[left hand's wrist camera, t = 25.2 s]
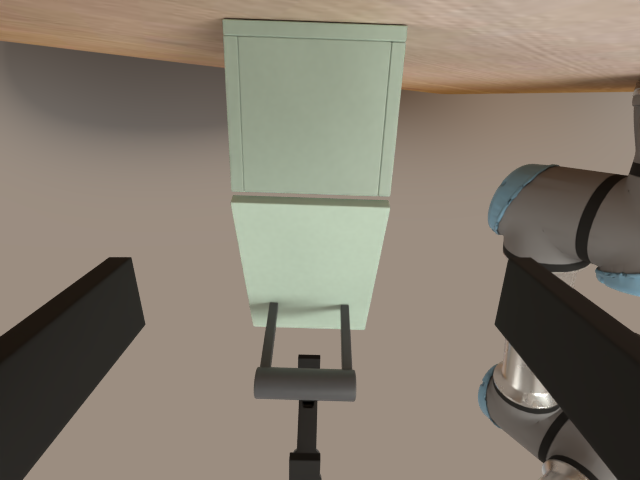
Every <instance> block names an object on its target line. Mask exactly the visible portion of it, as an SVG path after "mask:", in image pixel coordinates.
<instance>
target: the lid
mask: <svg viewBox="0 0 640 480" xmlns="http://www.w3.org/2000/svg"><path fill="white" fill-rule="evenodd" d="M231 208H232V213H233V218H234V224H235V229H236V235H237V240H238V245H239V251H240V256H241V262H242V267H243V273H244V278H245V283H246V289H247V294H248V300H249V305H250V310H251V316H252V321H253V326H260V327H266V331H265V338H264V345H263V351H262V358H261V364H260V367H258V368H257V370H256V374H255V380H254V396H255V398H256V399H286V400H321V401H355V398H356V374H355V371H354V370H352V356H351V336H350V329H357V330H364V329H365V326H366V321H367V316H368V312H369V307H370V302H371V297H372V293H373V288H374V283H375V278H376V274H377V269H378V264H379V259H380V255H381V250H382V245H383V240H384V235H385V231H386V226H387V221H388V216H389V212H390V205H389V201H388V200H359V199H330V198H300V197H269V196H239V195H233V197H232V200H231ZM276 327H293V328H325V329H341V356H342V369H311V368H278V367H271V363H272V355H273V347H274V339H275V331H276Z"/></svg>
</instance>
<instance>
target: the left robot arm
mask: <svg viewBox="0 0 640 480" xmlns="http://www.w3.org/2000/svg"><path fill="white" fill-rule="evenodd" d="M144 326H145V321H144V316H143V311H142V306H141V301H140V297H139V292H138V287H137V282H136V278H135V273H134V268H133V263H132V259H131V257H109V258H108V259H106V260H105V261H104V262H102V263H101V264H100V265H98V266H97V267H95V268H94V269H93V270H91V271H90V272H88V273H87V274H86V275H84V276H83V277H82V278H80V279H79V280H77V281H76V282H75V283H73V284H72V285H71V286H69V287H68V288H67V289H65V290H64V291H62V292H61V293H60V294H58V295H57V296H56V297H54V298H53V299H51V300H50V301H49V302H47V303H46V304H45V305H43V306H42V307H40V308H39V309H38V310H36V311H35V312H34V313H32V314H31V315H29V316H28V317H27V318H25V319H24V320H23V321H21V322H20V323H19V324H17V325H16V326H14V327H13V328H12V329H10V330H9V331H7V332H6V333H5V334H3V335H2V336H0V480H23V479H24V477H25V476H26V475H27V473H28V472H29V471H30V470H31V468H32V467H33V466H34V465H35V463H36V462H37V461H38V460H39V458H40V457H41V456H42V455H43V453H44V452H45V451H46V449H47V448H48V447H49V446H50V444H51V443H52V442H53V441H54V439H55V438H56V437H57V435H58V434H59V433H60V432H61V431H62V429H63V428H64V427H65V425H66V424H67V423H68V422H69V420H70V419H71V418H72V417H73V415H74V414H75V413H76V412H77V410H78V409H79V408H80V406H81V405H82V404H83V403H84V401H85V400H86V399H87V398H88V396H89V395H90V394H91V393H92V391H93V390H94V389H95V387H96V386H97V385H98V384H99V382H100V381H101V380H102V379H103V377H104V376H105V375H106V374H107V372H108V371H109V370H110V369H111V367H112V366H113V365H114V364H115V362H116V361H117V360H118V358H119V357H120V356H121V355H122V353H123V352H124V351H125V350H126V348H127V347H128V346H129V345H130V343H131V342H132V341H133V340H134V338H135V337H136V336H137V334H138V333H139V332H140V331H141V329H142V328H143V327H144ZM495 326H496V327H497V328H498V329H499V331H500V332H501V333H502V334H503V336H504V337H505V338H506V340H507V341H508V342H509V343H510V345H511V346H512V347H513V348H514V350H515V351H516V352H517V353H518V355H519V356H520V357H521V358H522V360H523V361H524V362H525V364H526V365H527V366H528V367H529V369H530V370H531V371H532V372H533V374H534V375H535V376H536V377H537V379H538V380H539V381H540V382H541V384H542V385H543V386H544V388H545V389H546V390H547V391H548V393H549V394H550V395H551V396H552V398H553V399H554V400H555V401H556V403H557V404H558V405H559V407H560V408H561V409H562V410H563V412H564V413H565V414H566V415H567V417H568V418H569V419H570V420H571V422H572V423H573V424H574V425H575V427H576V428H577V429H578V431H579V432H580V433H581V434H582V436H583V437H584V438H585V439H586V441H587V442H588V443H589V444H590V446H591V447H592V448H593V449H594V451H595V452H596V453H597V455H598V456H599V457H600V458H601V460H602V461H603V462H604V463H605V465H606V466H607V467H608V468H609V470H610V471H611V472H612V473H613V475H614V476H615V477H616V479H617V480H640V335H639V334H637V333H634V332H633V331H631V330H630V329H628V328H627V327H626V326H624V325H623V324H622V323H620V322H619V321H617V320H616V319H615V318H613V317H612V316H611V315H609V314H608V313H606V312H605V311H604V310H602V309H601V308H600V307H598V306H597V305H595V304H594V303H593V302H591V301H590V300H588V299H587V298H586V297H584V296H583V295H582V294H580V293H579V292H578V291H576V290H575V289H574V288H572V287H571V286H569V285H568V284H567V283H565V282H564V281H563V280H561V279H560V278H558V277H557V276H556V275H554V274H553V273H552V272H550V271H549V270H547V269H546V268H545V267H543V266H542V265H541V264H539V263H538V262H536V261H535V260H534V259H532V258H531V257H509V258H508V263H507V268H506V273H505V278H504V282H503V287H502V292H501V297H500V301H499V306H498V311H497V316H496V320H495Z"/></svg>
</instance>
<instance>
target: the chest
mask: <svg viewBox="0 0 640 480" xmlns="http://www.w3.org/2000/svg"><path fill="white" fill-rule="evenodd" d="M222 22H223V35H224V36H223V43H224V62H225V80H226V99H227V118H228V137H229V156H230V175H231V191H236V192H244V191H245V192H268V193H298V194H328V195H359V196H390V194H391V184H392V174H393V164H394V154H395V144H396V135H397V125H398V115H399V105H400V95H401V85H402V76H403V66H404V56H405V46H406V43H405V42H406V37H407V26H406V25H378V24H350V23H323V22H295V21H267V20H240V19H223V20H222Z"/></svg>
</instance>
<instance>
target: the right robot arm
mask: <svg viewBox="0 0 640 480" xmlns="http://www.w3.org/2000/svg"><path fill="white" fill-rule="evenodd" d="M632 105H633V106H634V133H635V146H636V152H635V157H634V160H633V164H632V167H631V170H630V173H629V175H628V176H626V175H619V174H612V173H604V172H597V171H590V170H582V169H575V168H568V167H560V166H559V165H554V164H552V165H539V164H528V165H524V166H521V167H519V168H517V169H516V170H514V171H513V172H512V173H510V174H509V175H508V176H507V177H506V178H505V179H504V180H503V182H502V184H501V185H500V186H499V187H498V189H497V190H496V192H495V194H494V196H493V198H492V201H491V204H490V207H489V212H488V223H489V226H490V228H492V230H493V231H494V232H495V233H496V234H498V235H503V236H504V242H503V254H504V256H505V258H506V259H507V260H508V258H509V257H531V258H532V259H534V260H535V261H536V262H538V263H539V264H541V265H542V266H543V267H545V268H546V269H547V270H549V271H550V272H552V273H553V274H554V275H556V276H557V277H558V278H560V279H561V280H563V281H564V282H565V283H567V284H568V285H569V286H571V287H572V288H574V285H575V279H576V274H577V272H579V271H582V270H584V269H586V268H587V267H589V265H590V264H591V263H592V264H595V265H597V266H598V267H597V268H596V270H595V272H596V276H597V279H598V280H599V281H600V282H601V283H604V284H605V285H606V286H608V287H610V288H612V289H615V290H618V291H621V292H624V293H627V294H631V295H635V296H639V297H640V80H639V81H637V83H636V87H635V90H634V93H633V100H632ZM298 368H311V369H320V355H299V356H298ZM317 401H319V400H299V415H298V439H297V449H296V450H294V452H293V453H290V459H289V480H321V475H320V453H319V451H318V450H317V449H316V433H317ZM478 402H479V406H480V408H481V410H482V412H483V413H484V414H485V415H486V416H487V417H488V418H489V419H490V420H491V421H492V422H493V423H494V425H496V426H497V427H499V428H501V429H503V430H504V431H505V432H506V433H507V434H509V435H510V436H511V437H512V438H514V439H515V440H516V441H517V442H518V443H520V444H521V445H522V446H523V447H524V448H526V449H527V450H528V451H529V452H531V453H532V454H533V455H534V456H535V457H537V458H538V459H539V460H540V461H542V462H543V463H544V464H543V466H542V475H543V476H542V477H541V478H540V479H538V480H617V479H616V477H615V476H614V475H613V473H612V472H611V471H610V470H609V468H608V467H607V466H606V465H605V463H604V462H603V461H602V460H601V458H600V457H599V456H598V455H597V453H596V452H595V451H594V449H593V448H592V447H591V446H590V444H589V443H588V442H587V441H586V439H585V438H584V437H583V436H582V434H581V433H580V432H579V431H578V429H577V428H576V427H575V425H574V424H573V423H572V422H571V420H570V419H569V418H568V417H567V415H566V414H565V413H564V412H563V410H562V409H561V408H560V407H559V405H558V404H557V403H556V401H555V400H554V399H553V398H552V396H551V395H550V394H549V393H548V391H547V390H546V389H545V388H544V386H543V385H542V384H541V382H540V381H539V380H538V379H537V377H536V376H535V375H534V374H533V372H532V371H531V370H530V369H529V367H528V366H527V365H526V364H525V362H524V361H523V360H522V358H521V357H520V356H519V355H518V353H517V352H516V351H515V350H514V348H513V347H512V346H511V345H510V343H509V342H508V341H507V340H506V338H505V349H504V360H503V361H502V362H500V363H499V364H496V365H494V366H493V367H492V368H491V369H490V370H489V371H488V372H487V373H486V374H485V376H484V378H483V383H482V384H481V385H480V387H479V392H478Z"/></svg>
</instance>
